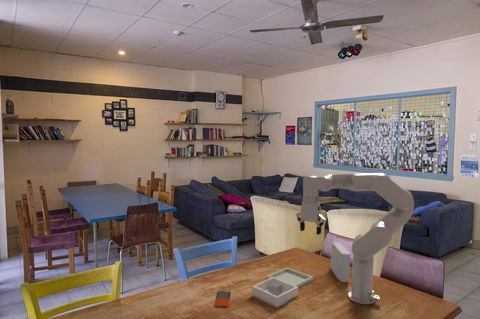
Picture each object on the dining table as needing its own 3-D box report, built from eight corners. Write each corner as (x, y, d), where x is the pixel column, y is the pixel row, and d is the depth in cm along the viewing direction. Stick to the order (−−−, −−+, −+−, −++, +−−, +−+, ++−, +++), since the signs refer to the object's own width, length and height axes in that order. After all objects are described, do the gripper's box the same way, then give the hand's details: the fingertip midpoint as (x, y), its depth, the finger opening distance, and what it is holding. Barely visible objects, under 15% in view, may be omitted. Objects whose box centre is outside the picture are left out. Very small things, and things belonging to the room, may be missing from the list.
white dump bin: (297, 296, 162) (298, 287, 162) (277, 308, 151) (277, 297, 151) (273, 286, 174) (273, 276, 173) (252, 295, 162) (252, 286, 162)
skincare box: (349, 282, 179) (350, 254, 178) (339, 282, 179) (340, 254, 178) (339, 267, 200) (339, 242, 199) (330, 267, 200) (330, 241, 199)
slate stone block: (282, 294, 162) (282, 284, 162) (275, 297, 159) (275, 287, 158) (274, 291, 166) (274, 281, 165) (267, 294, 162) (268, 284, 162)
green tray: (313, 281, 180) (313, 276, 180) (293, 291, 168) (293, 286, 168) (287, 271, 193) (287, 267, 193) (266, 280, 181) (266, 275, 180)
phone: (214, 305, 151) (217, 290, 166) (214, 308, 151) (217, 293, 166) (228, 306, 151) (230, 291, 166) (228, 308, 151) (230, 293, 166)
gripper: (329, 200, 166) (329, 234, 167) (300, 196, 178) (300, 228, 179) (321, 202, 161) (321, 237, 162) (292, 198, 173) (292, 230, 174)
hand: (310, 232), depth 170 cm, fingers open, 9 cm apart
